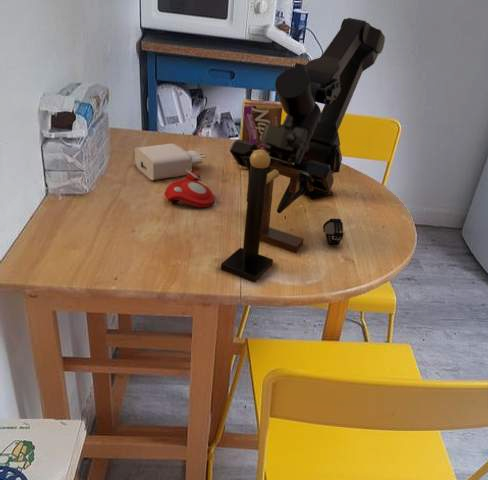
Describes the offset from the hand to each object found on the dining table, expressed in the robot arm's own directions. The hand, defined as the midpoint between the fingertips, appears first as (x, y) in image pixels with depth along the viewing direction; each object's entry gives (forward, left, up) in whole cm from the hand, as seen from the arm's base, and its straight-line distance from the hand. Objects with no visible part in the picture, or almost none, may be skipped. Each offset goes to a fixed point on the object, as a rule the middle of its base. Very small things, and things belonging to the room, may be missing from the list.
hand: (263, 207), depth 88 cm
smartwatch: (-11, +7, -7) cm, 15 cm away
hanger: (-3, +2, -6) cm, 7 cm away
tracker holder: (+3, -20, -7) cm, 22 cm away
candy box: (-19, -29, -7) cm, 36 cm away
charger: (0, -34, -7) cm, 35 cm away
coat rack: (+5, +6, -7) cm, 10 cm away
